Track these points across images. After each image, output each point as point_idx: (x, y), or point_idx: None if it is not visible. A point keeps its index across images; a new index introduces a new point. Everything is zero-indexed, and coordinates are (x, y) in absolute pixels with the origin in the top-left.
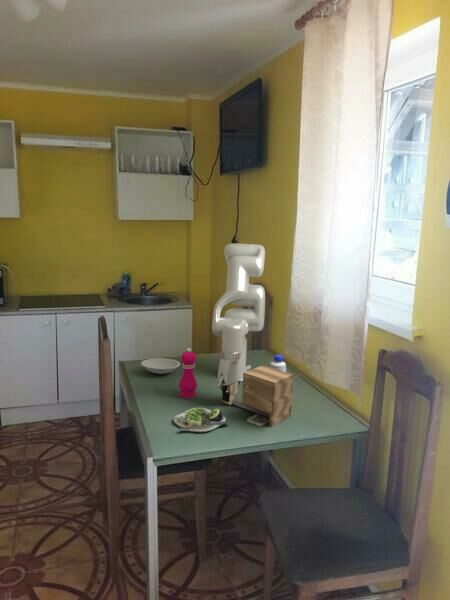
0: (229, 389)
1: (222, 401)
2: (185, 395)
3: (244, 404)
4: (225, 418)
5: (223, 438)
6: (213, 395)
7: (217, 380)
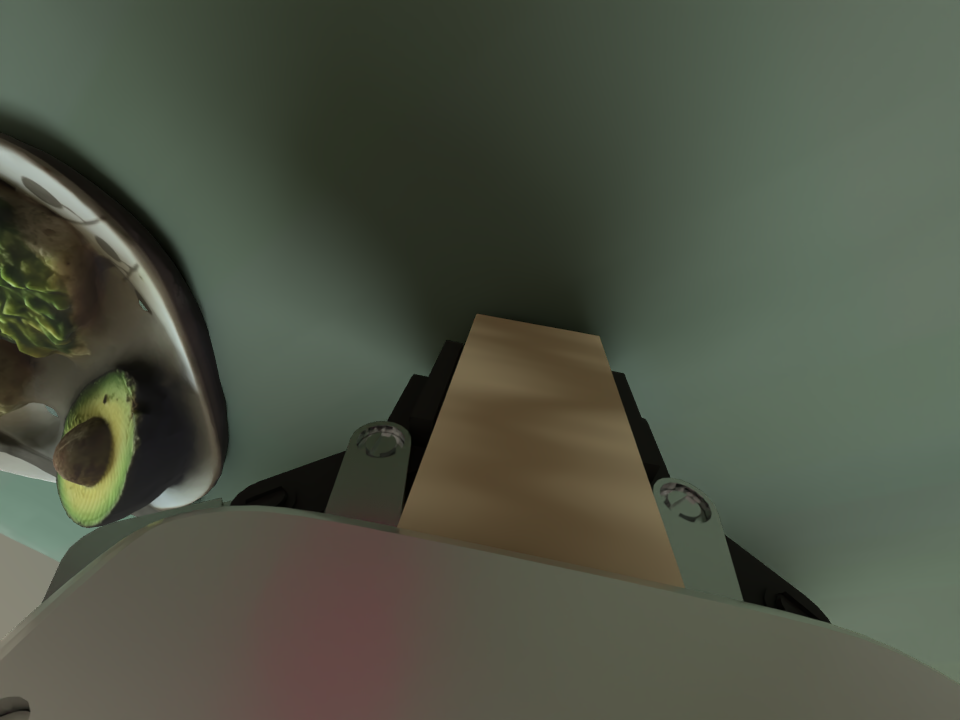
0: None
1: (475, 319)
2: None
3: None
4: (192, 500)
5: (89, 529)
6: (677, 27)
7: (67, 582)
